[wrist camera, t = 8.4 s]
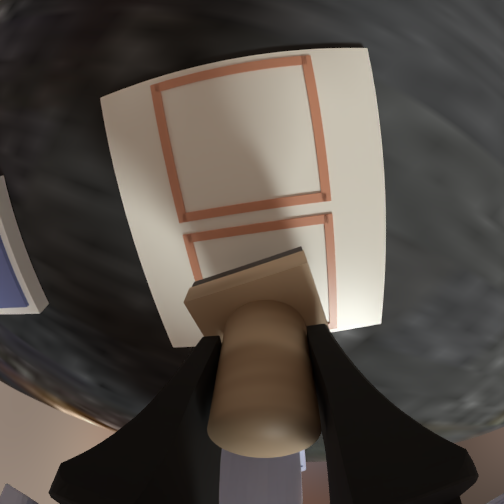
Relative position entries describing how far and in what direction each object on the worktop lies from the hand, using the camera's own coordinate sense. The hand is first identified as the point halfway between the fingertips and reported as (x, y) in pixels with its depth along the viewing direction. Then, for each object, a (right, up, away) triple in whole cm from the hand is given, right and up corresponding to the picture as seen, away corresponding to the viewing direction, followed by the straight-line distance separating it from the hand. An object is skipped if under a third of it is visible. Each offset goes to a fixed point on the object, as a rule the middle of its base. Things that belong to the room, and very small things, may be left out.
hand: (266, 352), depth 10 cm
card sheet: (0, +5, +3) cm, 6 cm away
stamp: (0, +1, +2) cm, 2 cm away
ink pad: (-18, +4, +5) cm, 19 cm away
